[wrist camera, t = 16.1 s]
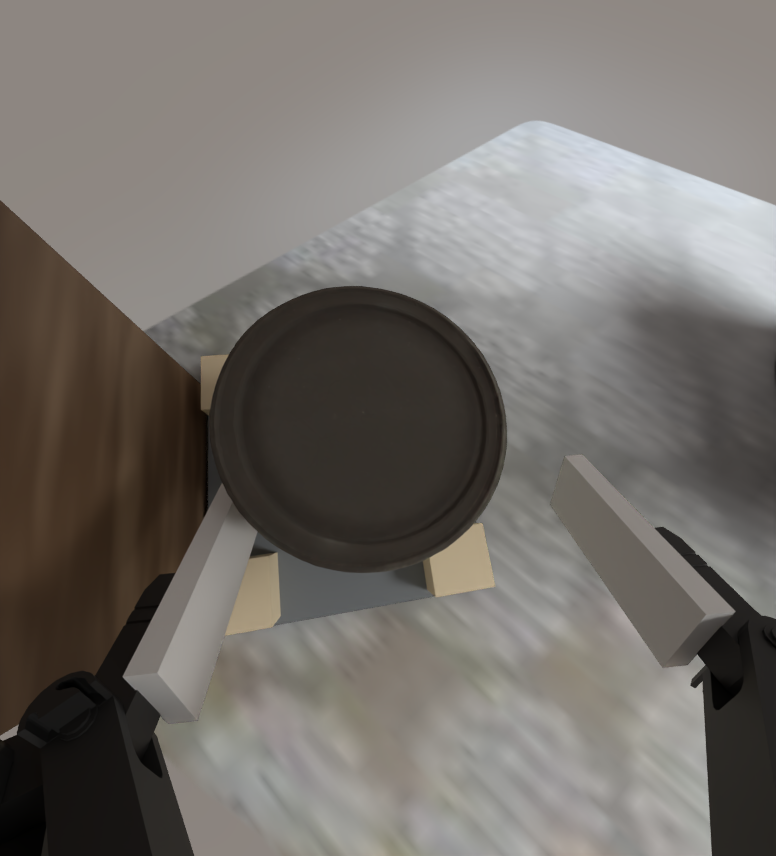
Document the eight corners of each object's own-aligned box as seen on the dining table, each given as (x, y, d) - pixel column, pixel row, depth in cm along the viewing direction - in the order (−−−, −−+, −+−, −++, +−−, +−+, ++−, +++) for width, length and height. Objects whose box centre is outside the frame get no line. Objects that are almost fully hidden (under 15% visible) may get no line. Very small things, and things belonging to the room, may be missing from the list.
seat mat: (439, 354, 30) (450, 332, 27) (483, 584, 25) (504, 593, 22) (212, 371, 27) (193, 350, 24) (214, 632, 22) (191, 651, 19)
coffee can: (311, 574, 23) (289, 647, 9) (250, 440, 24) (159, 337, 11) (438, 502, 25) (561, 478, 12) (376, 386, 27) (424, 253, 14)
